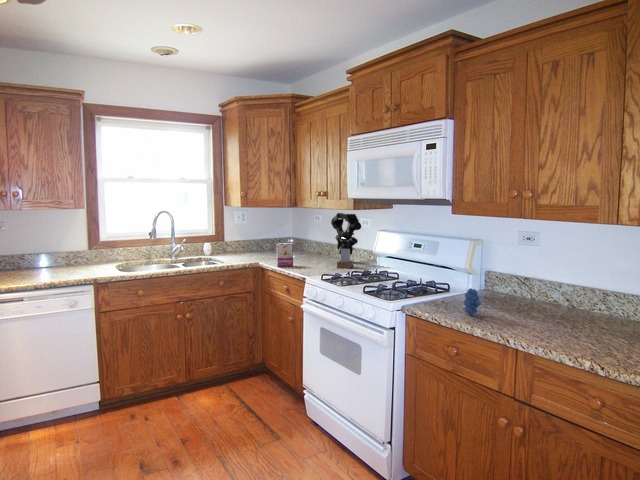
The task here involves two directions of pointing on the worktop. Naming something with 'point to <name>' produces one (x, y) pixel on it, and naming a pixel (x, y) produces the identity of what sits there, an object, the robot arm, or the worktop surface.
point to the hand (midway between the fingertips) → (342, 249)
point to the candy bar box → (285, 255)
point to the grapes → (471, 301)
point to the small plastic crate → (345, 255)
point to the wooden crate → (345, 265)
